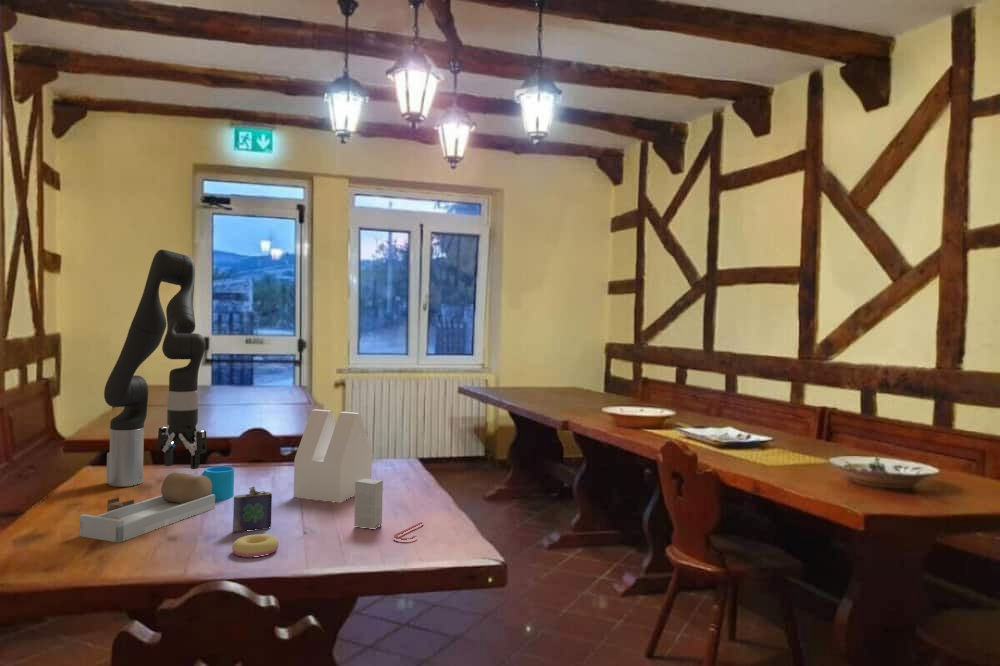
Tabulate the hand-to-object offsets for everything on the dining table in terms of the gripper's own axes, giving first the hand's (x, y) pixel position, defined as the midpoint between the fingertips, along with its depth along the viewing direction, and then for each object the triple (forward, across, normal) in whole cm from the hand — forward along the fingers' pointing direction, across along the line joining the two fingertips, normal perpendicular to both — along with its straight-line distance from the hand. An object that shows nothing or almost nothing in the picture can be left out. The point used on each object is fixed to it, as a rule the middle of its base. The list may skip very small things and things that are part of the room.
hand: (181, 467), depth 190 cm
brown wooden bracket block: (+12, +13, +7) cm, 19 cm away
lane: (+12, 0, +9) cm, 15 cm away
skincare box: (+12, -52, -9) cm, 54 cm away
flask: (+12, -27, +5) cm, 30 cm away
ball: (+10, 0, +22) cm, 24 cm away
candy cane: (+13, -65, -8) cm, 66 cm away
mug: (+12, +3, -17) cm, 21 cm away
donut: (+12, -38, +18) cm, 44 cm away
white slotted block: (+12, -26, -35) cm, 45 cm away
